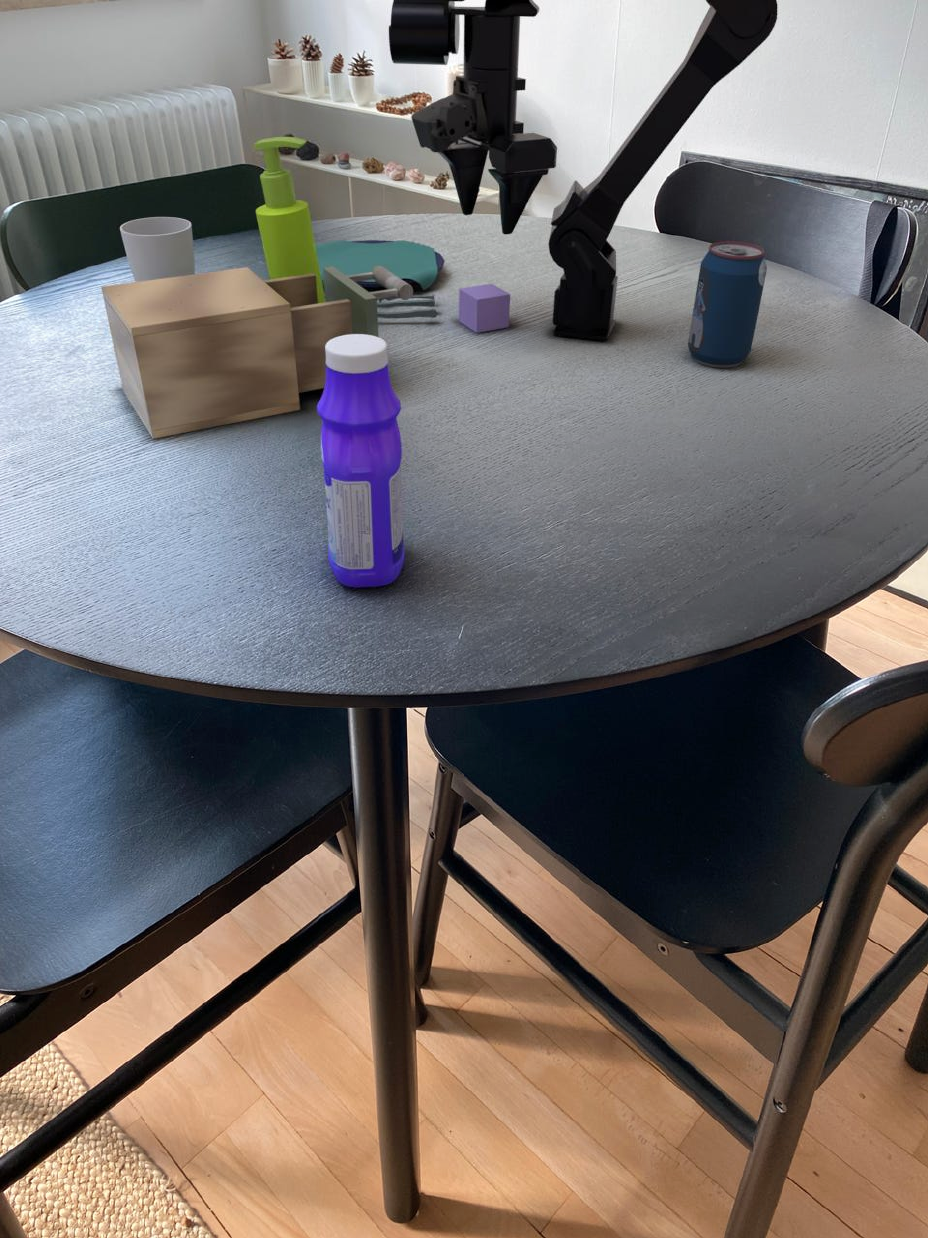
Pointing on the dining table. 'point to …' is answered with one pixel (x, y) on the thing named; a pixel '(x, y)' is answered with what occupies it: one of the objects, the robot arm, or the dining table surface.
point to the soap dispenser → (285, 219)
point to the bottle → (361, 462)
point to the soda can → (727, 303)
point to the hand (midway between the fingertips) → (486, 223)
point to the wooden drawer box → (203, 350)
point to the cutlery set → (394, 257)
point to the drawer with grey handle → (331, 314)
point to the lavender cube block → (484, 308)
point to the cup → (159, 247)
